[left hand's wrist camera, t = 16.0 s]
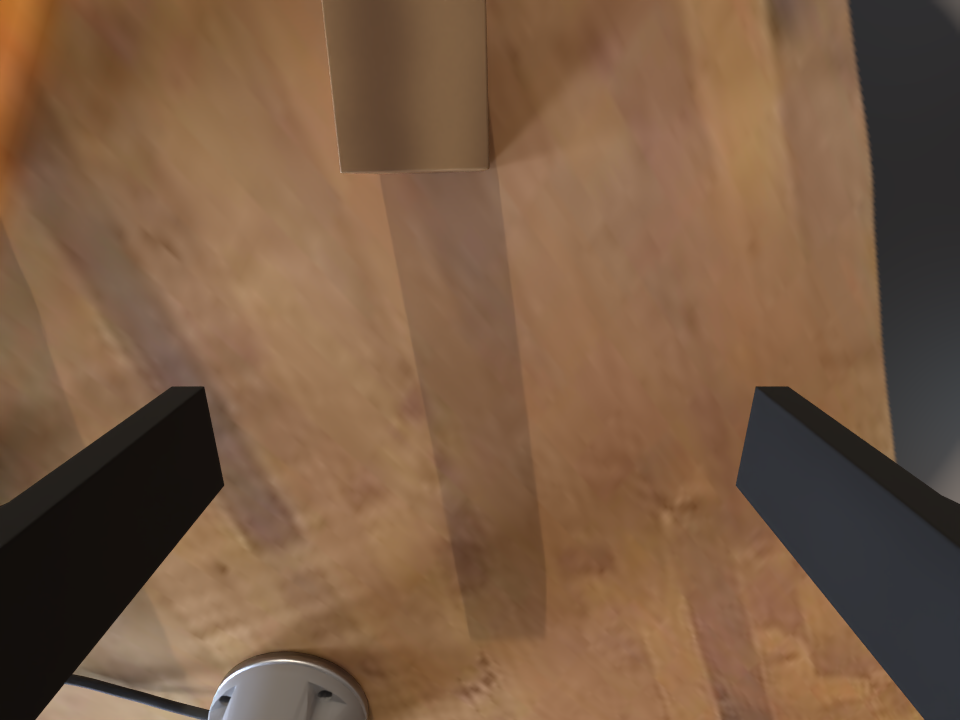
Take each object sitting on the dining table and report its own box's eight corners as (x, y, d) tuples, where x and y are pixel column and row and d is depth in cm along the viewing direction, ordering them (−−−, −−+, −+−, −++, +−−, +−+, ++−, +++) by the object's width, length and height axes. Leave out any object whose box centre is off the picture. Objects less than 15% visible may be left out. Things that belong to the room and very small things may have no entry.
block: (481, 42, 33) (485, -18, 23) (484, 171, 36) (489, 169, 25) (367, 45, 33) (319, -13, 23) (378, 174, 36) (340, 173, 25)
